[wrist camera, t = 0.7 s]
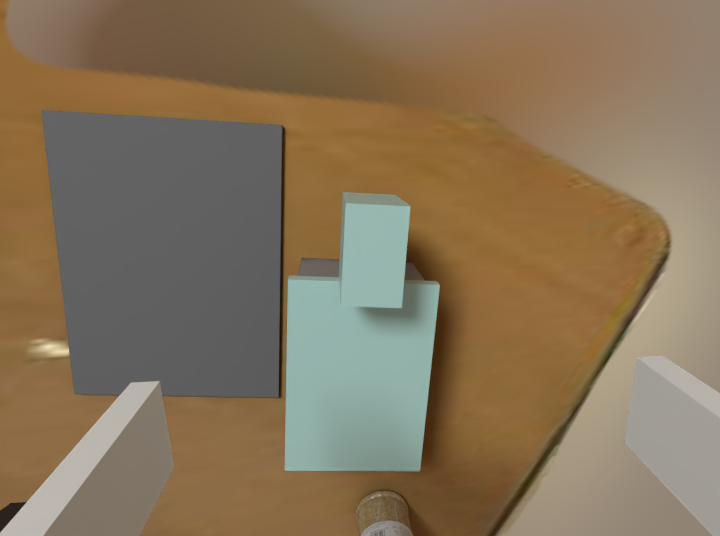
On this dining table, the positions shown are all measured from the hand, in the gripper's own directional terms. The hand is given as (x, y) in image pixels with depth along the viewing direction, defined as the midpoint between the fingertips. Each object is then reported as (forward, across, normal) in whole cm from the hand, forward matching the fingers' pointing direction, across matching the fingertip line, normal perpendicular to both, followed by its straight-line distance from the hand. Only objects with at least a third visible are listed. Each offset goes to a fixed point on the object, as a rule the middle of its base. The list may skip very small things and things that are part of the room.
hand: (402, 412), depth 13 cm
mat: (+21, -14, -1) cm, 25 cm away
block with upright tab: (+16, -1, -4) cm, 17 cm away
